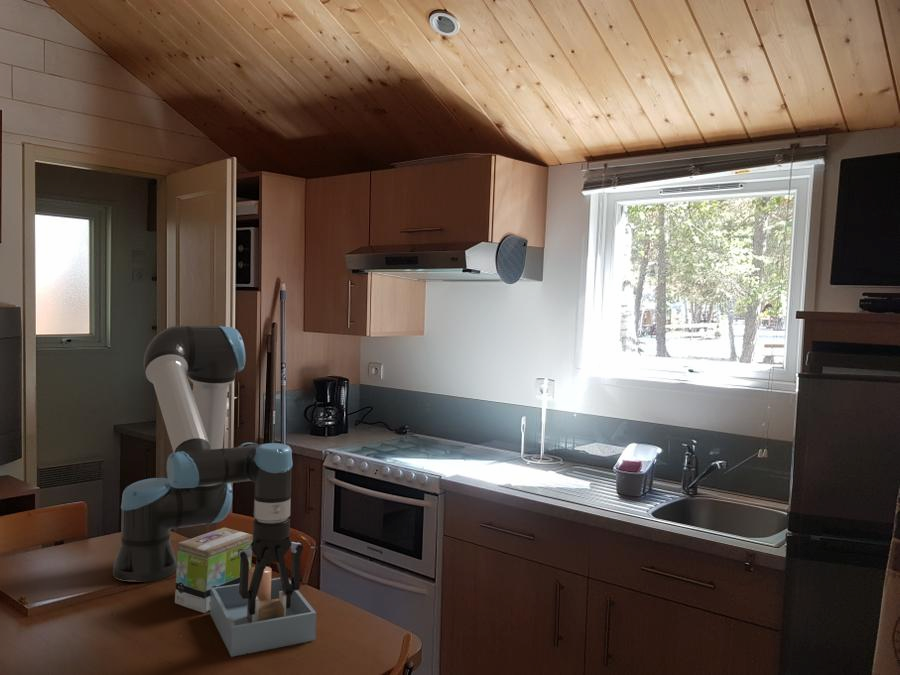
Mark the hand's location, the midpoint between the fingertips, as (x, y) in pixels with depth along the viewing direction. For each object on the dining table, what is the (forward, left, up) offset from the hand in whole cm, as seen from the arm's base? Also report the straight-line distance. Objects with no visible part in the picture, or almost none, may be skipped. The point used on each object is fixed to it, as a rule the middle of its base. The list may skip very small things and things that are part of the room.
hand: (268, 625), depth 156 cm
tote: (-6, 0, -3) cm, 7 cm away
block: (0, 0, 0) cm, 0 cm away
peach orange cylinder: (-8, 0, -2) cm, 8 cm away
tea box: (-25, -6, -3) cm, 26 cm away
